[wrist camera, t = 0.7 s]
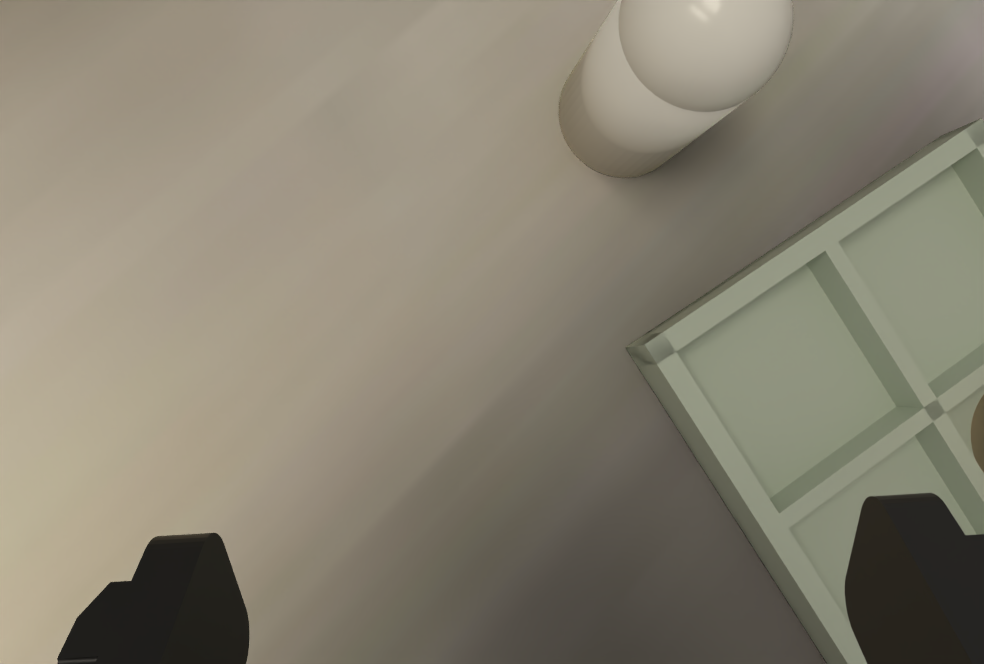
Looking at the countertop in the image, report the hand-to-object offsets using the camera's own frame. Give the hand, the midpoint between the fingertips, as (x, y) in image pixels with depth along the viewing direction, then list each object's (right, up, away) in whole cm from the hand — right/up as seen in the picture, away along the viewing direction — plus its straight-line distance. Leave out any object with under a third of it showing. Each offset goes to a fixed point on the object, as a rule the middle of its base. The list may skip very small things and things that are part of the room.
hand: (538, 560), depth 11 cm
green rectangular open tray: (+15, 0, +22) cm, 26 cm away
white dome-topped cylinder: (+4, +11, +21) cm, 24 cm away
